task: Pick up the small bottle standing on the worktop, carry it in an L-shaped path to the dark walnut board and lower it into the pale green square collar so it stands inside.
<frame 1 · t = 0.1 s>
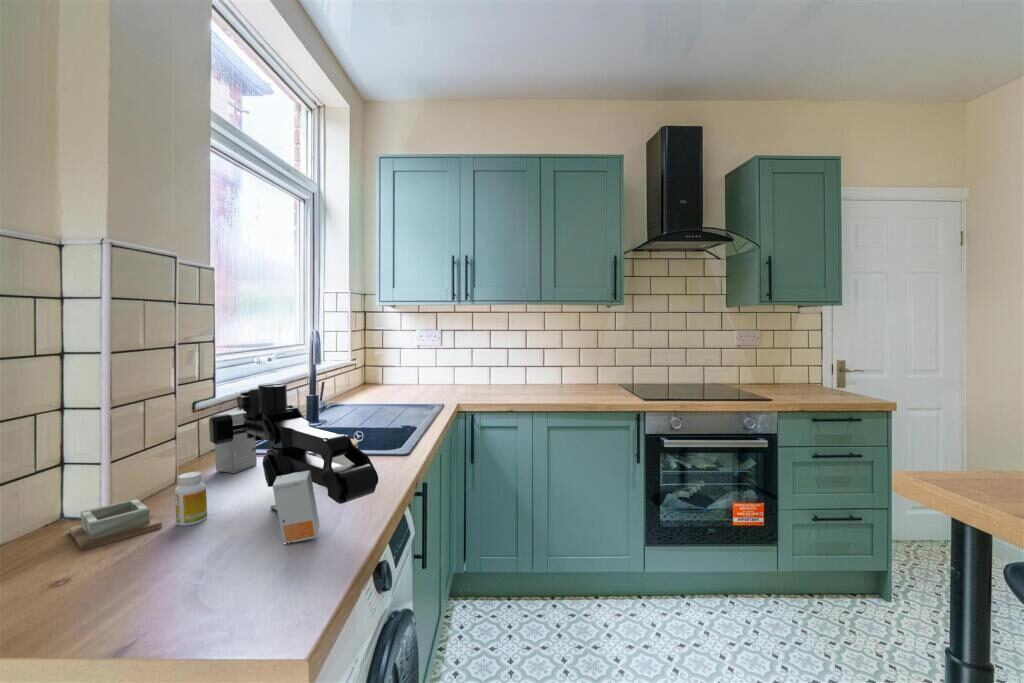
hand: (239, 419, 121), 16 cm above the countertop, tool horizontal, fingers open, 9 cm apart
skincare box 2: (302, 536, 91), on the countertop, touching arm
skincare box: (236, 468, 134), on the countertop
supplement bottle: (192, 521, 100), on the countertop
lidded jar: (337, 472, 131), on the countertop
socket board: (116, 529, 96), on the countertop
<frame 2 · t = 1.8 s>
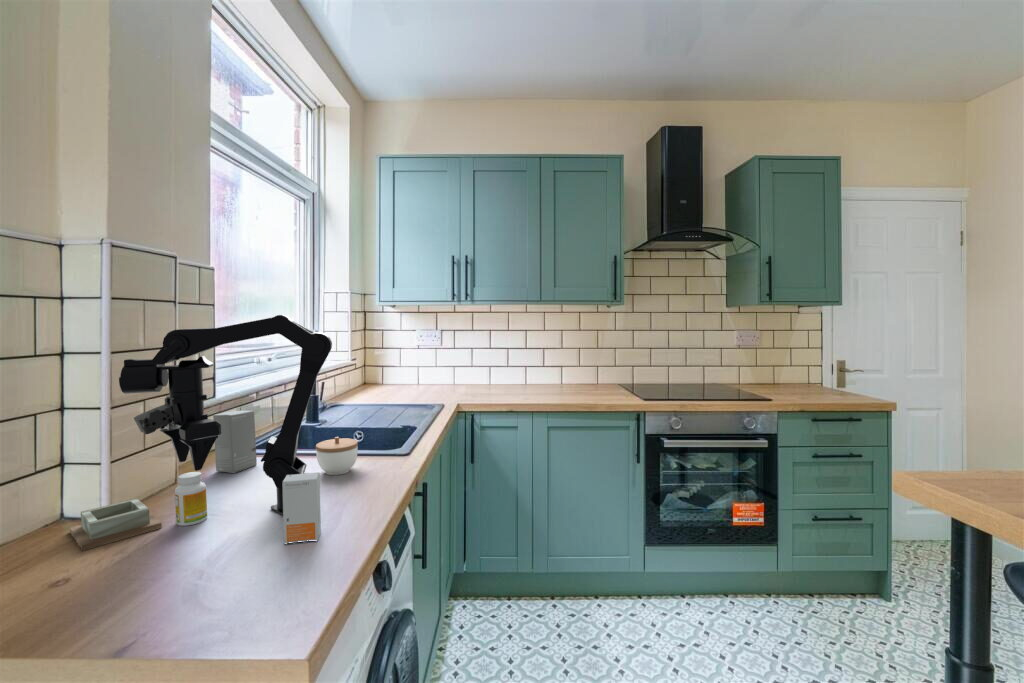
hand: (190, 465, 99), 12 cm above the countertop, tool pointing down, fingers open, 9 cm apart
skincare box 2: (303, 539, 91), on the countertop
everything else where it was.
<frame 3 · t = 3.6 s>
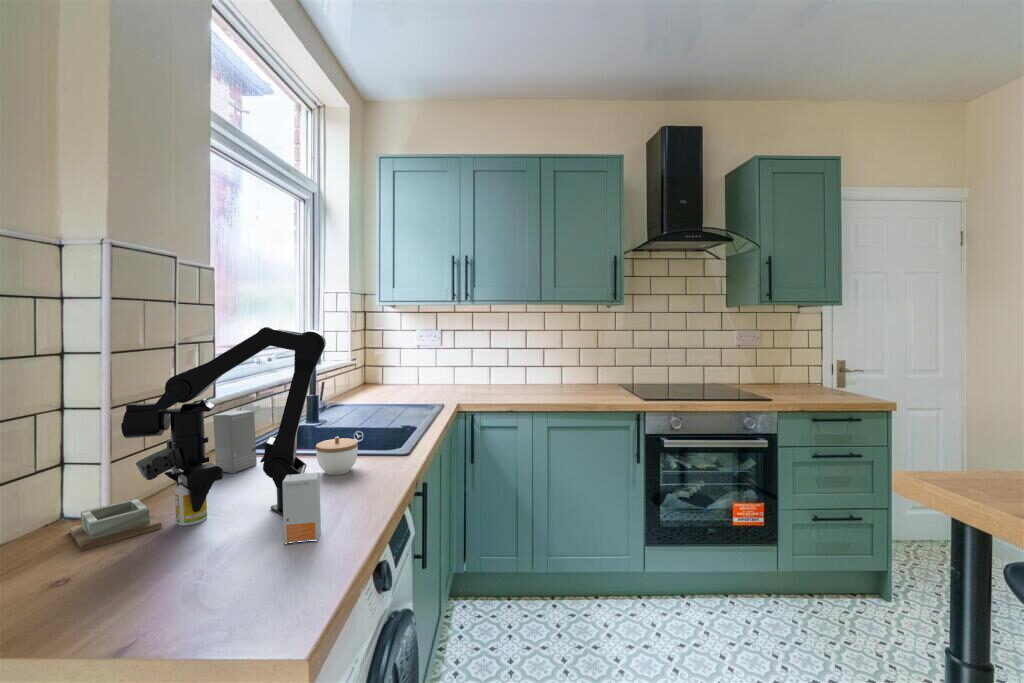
hand: (191, 508, 99), 3 cm above the countertop, tool pointing down, fingers closed on supplement bottle, 5 cm apart
supplement bottle: (192, 521, 100), on the countertop, touching gripper
everything else where it was.
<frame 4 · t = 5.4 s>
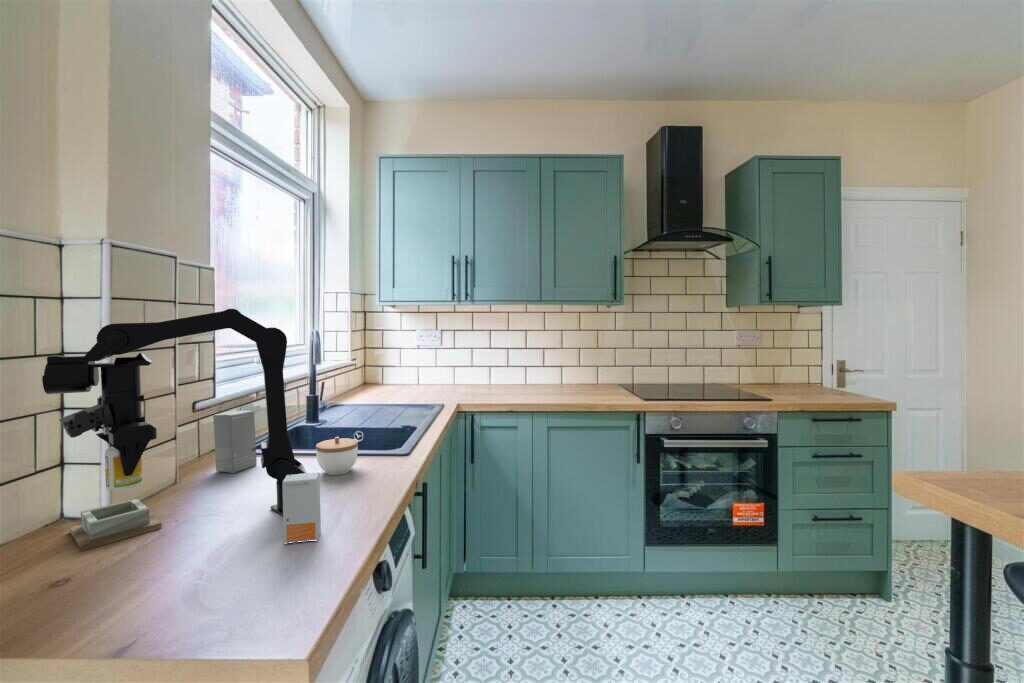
hand: (124, 472, 91), 13 cm above the countertop, tool pointing down, fingers closed on supplement bottle, 5 cm apart
supplement bottle: (124, 487, 91), point 10 cm above the countertop, touching gripper
everything else where it was.
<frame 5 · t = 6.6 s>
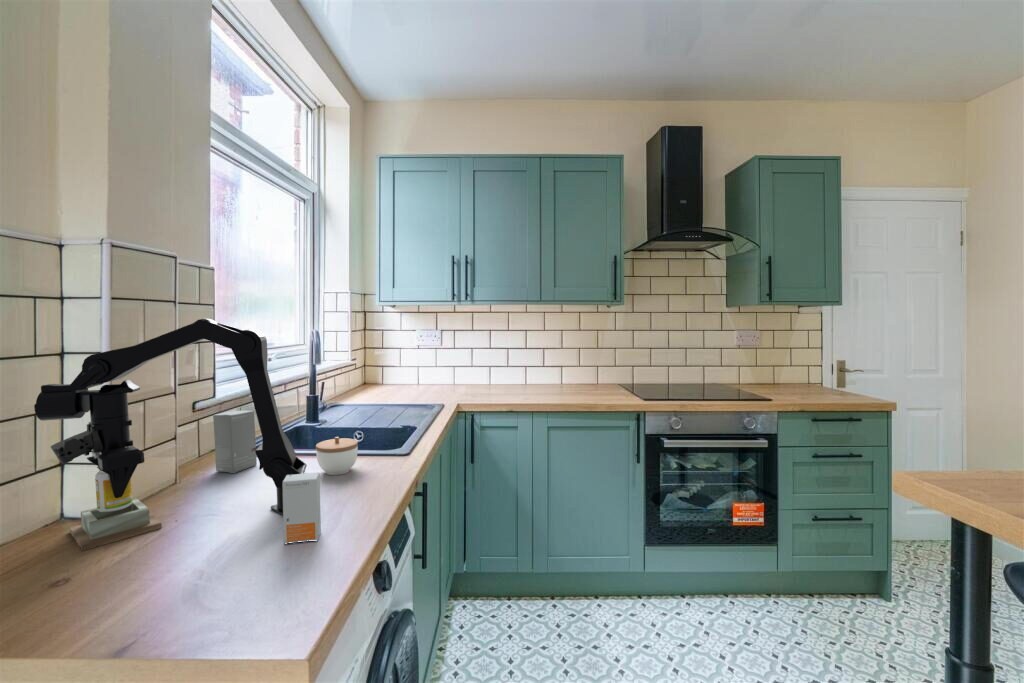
hand: (114, 494, 95), 7 cm above the countertop, tool pointing down, fingers closed on supplement bottle, 5 cm apart
supplement bottle: (115, 508, 95), point 4 cm above the countertop, touching gripper
everything else where it was.
when the fingers open (5 cm above the countertop, at t = 7.4 s): supplement bottle drops 1 cm, resting on socket board.
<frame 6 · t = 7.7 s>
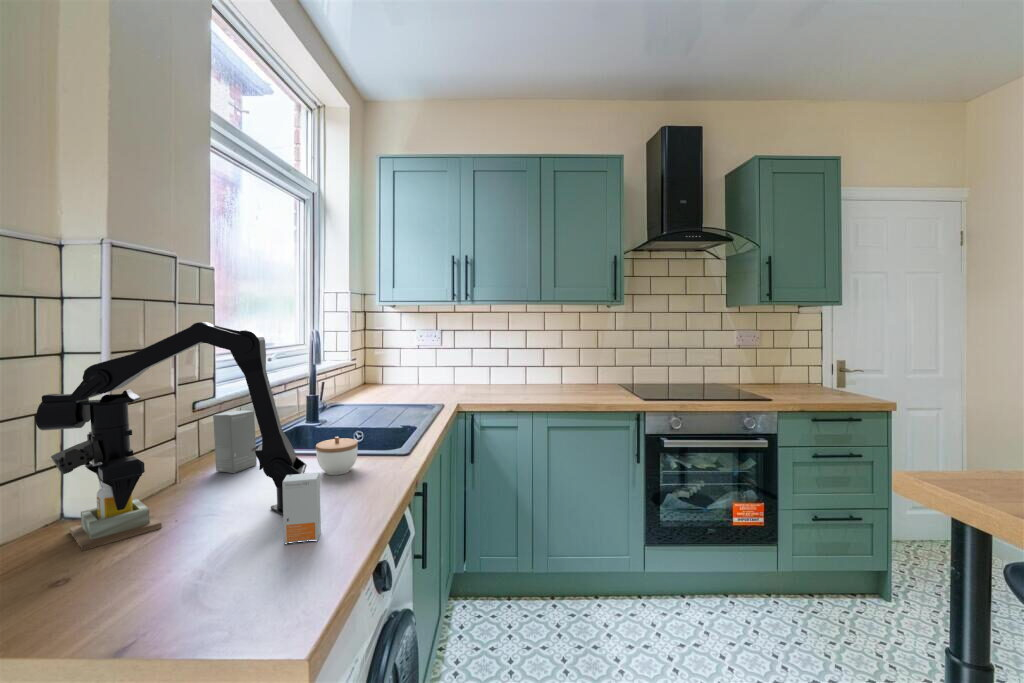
hand: (114, 503, 95), 5 cm above the countertop, tool pointing down, fingers open, 9 cm apart
supplement bottle: (116, 525, 96), point 1 cm above the countertop, touching socket board
everything else where it was.
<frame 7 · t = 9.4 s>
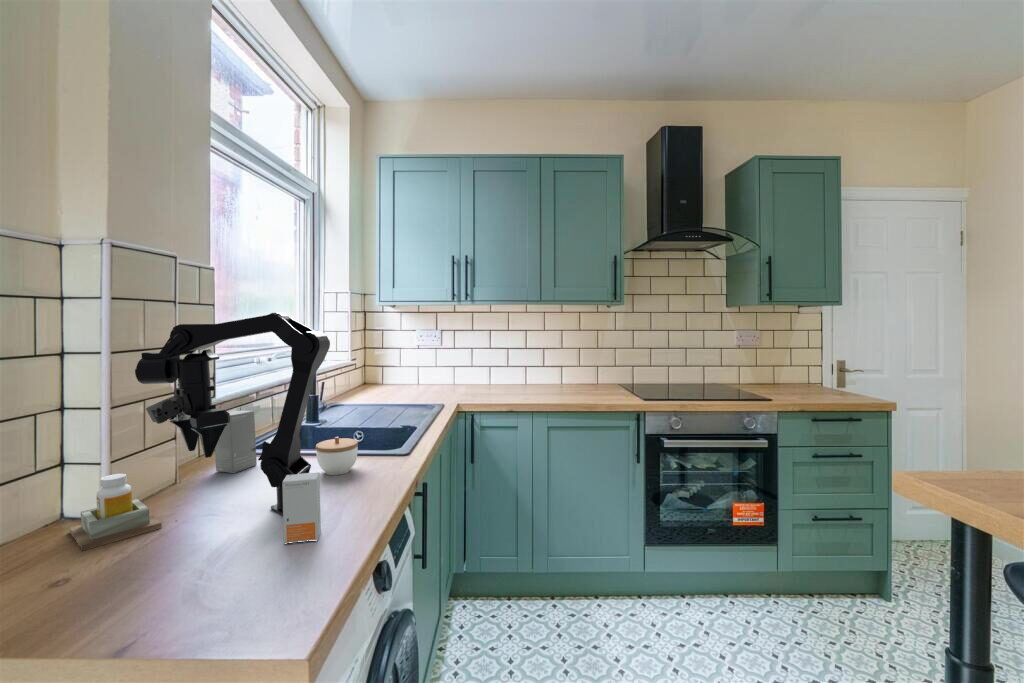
hand: (199, 453, 104), 12 cm above the countertop, tool pointing down, fingers open, 9 cm apart
nothing on the countertop moved.
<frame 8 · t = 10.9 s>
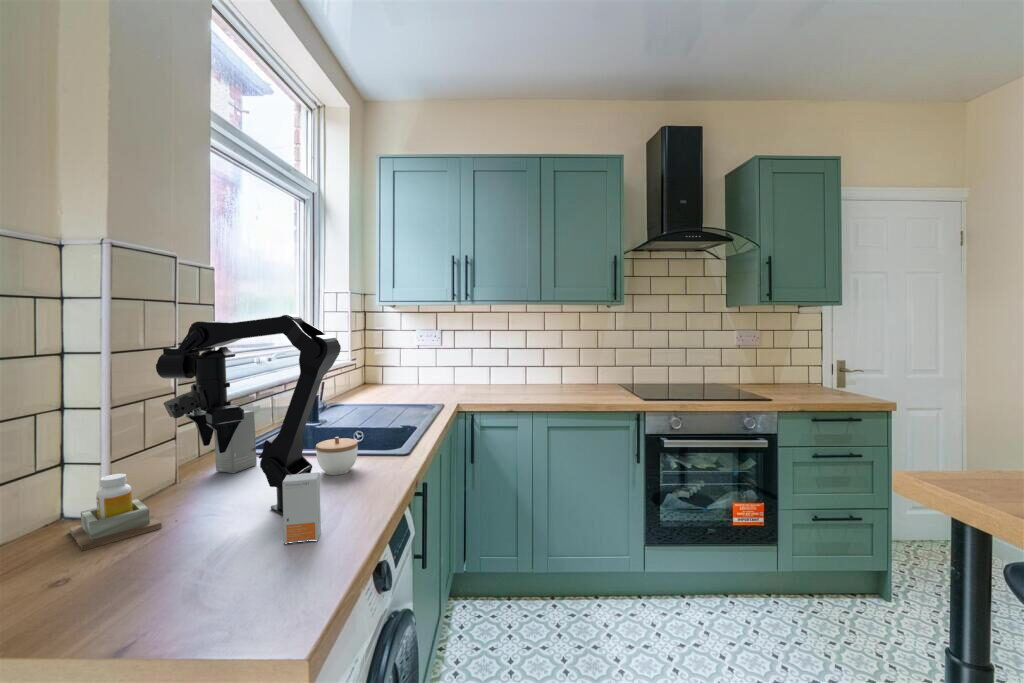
hand: (214, 449, 106), 13 cm above the countertop, tool pointing down, fingers open, 9 cm apart
nothing on the countertop moved.
at the end: supplement bottle 0.1 cm from the socket board (horizontally); supplement bottle tilted 0°; the gripper is holding nothing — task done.
